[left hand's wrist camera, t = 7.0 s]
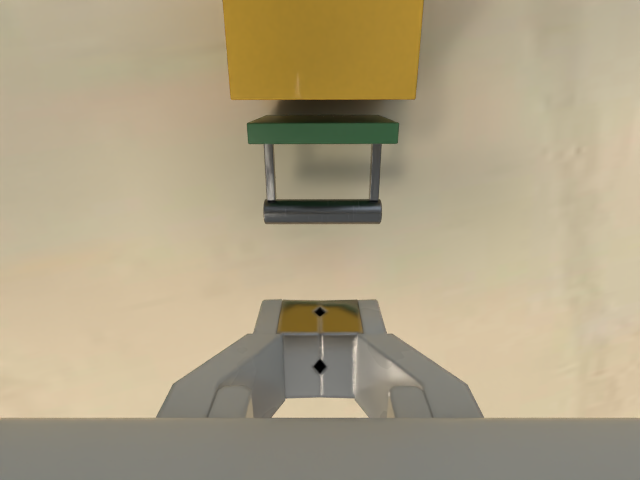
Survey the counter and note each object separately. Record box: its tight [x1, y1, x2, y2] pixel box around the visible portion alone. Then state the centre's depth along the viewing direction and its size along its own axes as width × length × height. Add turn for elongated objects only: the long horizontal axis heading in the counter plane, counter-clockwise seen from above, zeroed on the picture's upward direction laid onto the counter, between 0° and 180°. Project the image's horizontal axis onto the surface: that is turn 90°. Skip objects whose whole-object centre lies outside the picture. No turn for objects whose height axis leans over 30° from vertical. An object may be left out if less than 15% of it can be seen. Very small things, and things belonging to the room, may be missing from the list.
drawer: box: [247, 115, 399, 224], centre depth 24 cm, size 25×9×8 cm, turn 0°
